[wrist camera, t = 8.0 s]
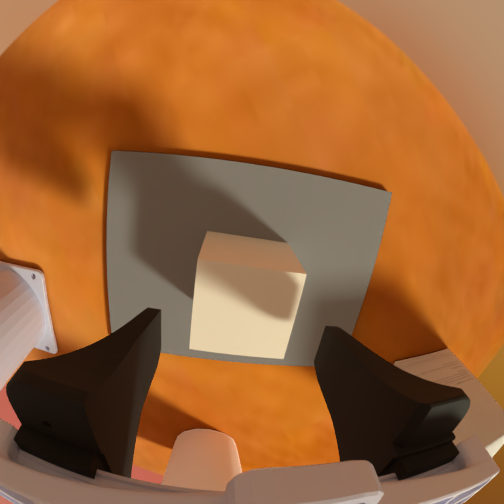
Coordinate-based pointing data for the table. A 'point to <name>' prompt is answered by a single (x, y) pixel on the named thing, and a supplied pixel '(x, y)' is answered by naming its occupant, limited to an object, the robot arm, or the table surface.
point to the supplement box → (481, 402)
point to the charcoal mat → (242, 224)
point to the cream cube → (245, 296)
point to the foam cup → (202, 460)
